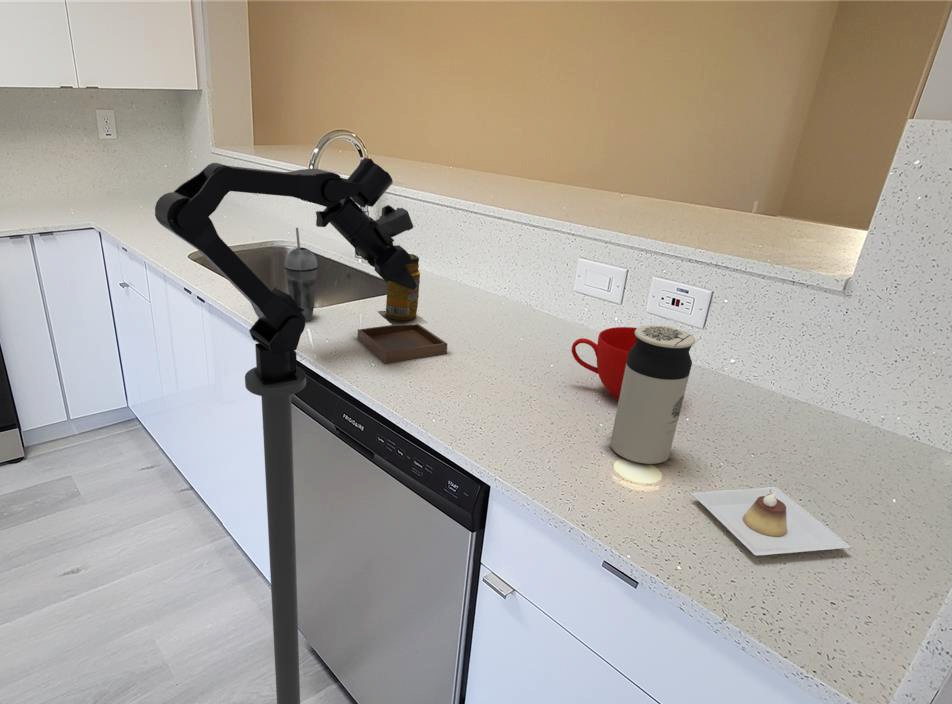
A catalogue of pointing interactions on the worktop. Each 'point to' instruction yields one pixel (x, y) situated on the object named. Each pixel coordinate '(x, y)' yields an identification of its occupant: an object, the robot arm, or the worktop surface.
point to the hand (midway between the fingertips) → (410, 283)
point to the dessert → (769, 521)
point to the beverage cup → (302, 277)
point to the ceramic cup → (610, 356)
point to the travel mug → (652, 394)
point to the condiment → (404, 299)
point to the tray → (401, 342)
